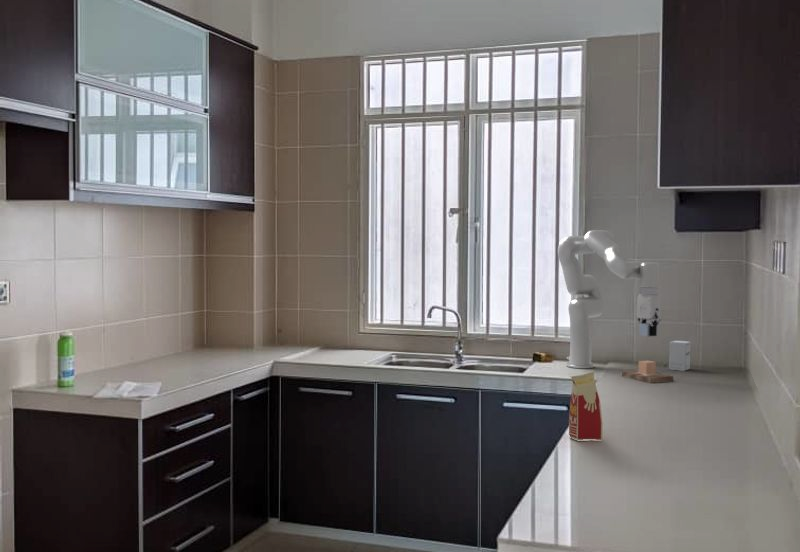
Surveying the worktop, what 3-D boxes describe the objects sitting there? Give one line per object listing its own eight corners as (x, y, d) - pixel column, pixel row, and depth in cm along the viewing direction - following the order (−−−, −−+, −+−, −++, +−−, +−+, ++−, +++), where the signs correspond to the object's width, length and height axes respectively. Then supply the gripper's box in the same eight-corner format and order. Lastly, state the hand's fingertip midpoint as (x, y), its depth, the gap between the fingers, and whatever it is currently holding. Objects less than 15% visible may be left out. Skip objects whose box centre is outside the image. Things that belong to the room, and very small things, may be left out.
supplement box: (685, 371, 362) (685, 343, 362) (668, 369, 367) (669, 341, 366) (690, 369, 368) (691, 341, 368) (673, 367, 373) (674, 340, 372)
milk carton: (595, 434, 245) (596, 368, 244) (603, 442, 236) (605, 373, 235) (565, 434, 245) (566, 368, 244) (572, 442, 235) (573, 373, 234)
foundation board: (621, 375, 349) (621, 370, 349) (644, 374, 353) (644, 369, 353) (650, 382, 332) (650, 377, 332) (673, 381, 337) (673, 376, 337)
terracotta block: (638, 372, 344) (638, 361, 344) (647, 372, 346) (647, 360, 346) (646, 374, 340) (646, 362, 339) (655, 374, 342) (656, 362, 341)
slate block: (639, 335, 343) (639, 323, 343) (649, 334, 345) (649, 323, 345) (647, 336, 339) (647, 324, 338) (656, 336, 341) (657, 324, 340)
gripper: (628, 290, 347) (627, 333, 348) (655, 293, 332) (654, 337, 333) (642, 290, 350) (641, 332, 351) (670, 292, 335) (669, 336, 335)
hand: (648, 334), depth 342 cm, fingers closed on slate block, 5 cm apart
